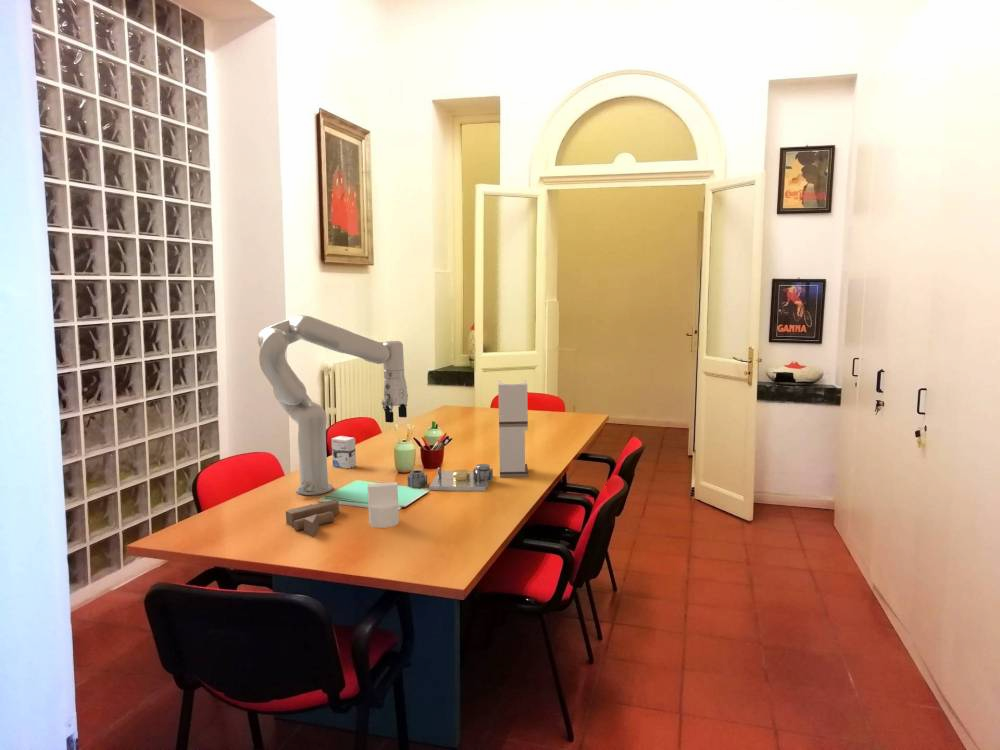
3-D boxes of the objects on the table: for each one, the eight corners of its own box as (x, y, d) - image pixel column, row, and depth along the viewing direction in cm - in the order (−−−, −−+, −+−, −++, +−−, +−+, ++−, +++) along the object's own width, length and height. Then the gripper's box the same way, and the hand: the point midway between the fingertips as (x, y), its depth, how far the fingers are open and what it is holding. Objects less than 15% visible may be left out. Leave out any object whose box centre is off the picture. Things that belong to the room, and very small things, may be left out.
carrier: (489, 491, 243) (489, 473, 242) (429, 490, 245) (428, 472, 244) (495, 475, 263) (495, 458, 262) (439, 474, 265) (439, 458, 264)
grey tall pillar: (528, 476, 260) (527, 384, 256) (499, 477, 260) (498, 384, 256) (526, 468, 272) (525, 380, 267) (499, 469, 272) (498, 380, 267)
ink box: (332, 466, 280) (330, 438, 278) (340, 463, 284) (339, 435, 283) (348, 469, 276) (347, 440, 274) (356, 466, 280) (355, 437, 279)
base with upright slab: (370, 529, 207) (368, 490, 205) (367, 519, 216) (366, 482, 214) (400, 525, 209) (399, 487, 208) (397, 516, 218) (395, 479, 216)
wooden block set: (282, 507, 212) (334, 495, 224) (283, 525, 213) (335, 512, 225) (308, 520, 199) (363, 506, 212) (309, 539, 200) (363, 524, 212)
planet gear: (424, 488, 248) (424, 474, 247) (405, 487, 249) (405, 474, 248) (428, 482, 255) (428, 469, 254) (410, 482, 255) (409, 469, 255)
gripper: (390, 377, 249) (393, 424, 251) (414, 371, 265) (416, 415, 267) (372, 377, 252) (375, 423, 254) (397, 371, 268) (399, 414, 270)
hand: (396, 419), depth 261 cm, fingers open, 9 cm apart
